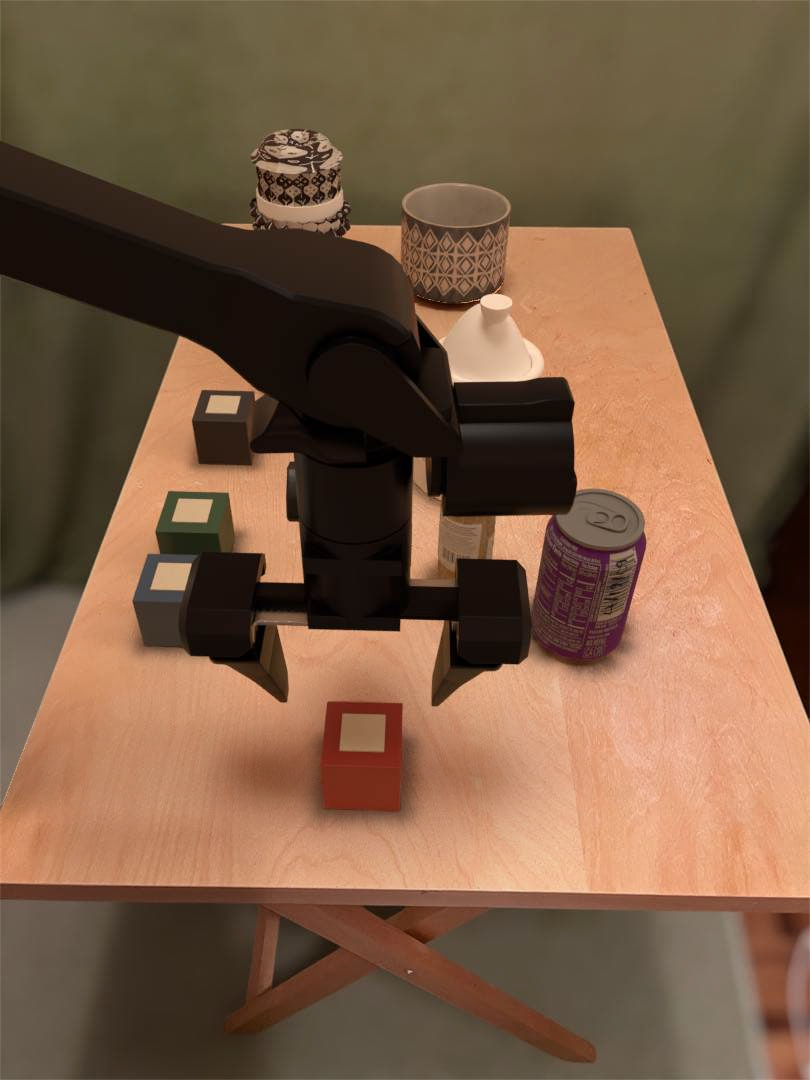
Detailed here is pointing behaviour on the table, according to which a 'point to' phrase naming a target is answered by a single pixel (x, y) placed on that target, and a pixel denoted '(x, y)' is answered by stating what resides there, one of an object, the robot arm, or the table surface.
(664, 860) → the table surface
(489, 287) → the planter
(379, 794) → the red cube
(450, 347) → the honey pot
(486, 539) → the sprinkles bottle
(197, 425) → the charcoal block
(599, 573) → the beverage can
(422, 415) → the robot arm
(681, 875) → the table surface
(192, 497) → the green block
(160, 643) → the slate block
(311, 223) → the decorative candle
